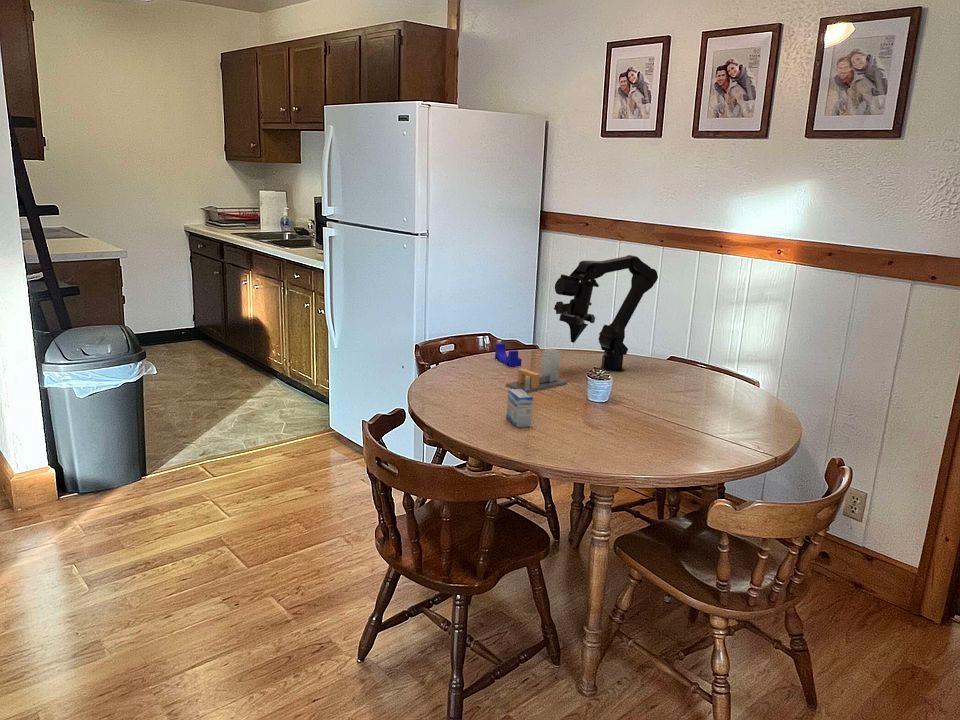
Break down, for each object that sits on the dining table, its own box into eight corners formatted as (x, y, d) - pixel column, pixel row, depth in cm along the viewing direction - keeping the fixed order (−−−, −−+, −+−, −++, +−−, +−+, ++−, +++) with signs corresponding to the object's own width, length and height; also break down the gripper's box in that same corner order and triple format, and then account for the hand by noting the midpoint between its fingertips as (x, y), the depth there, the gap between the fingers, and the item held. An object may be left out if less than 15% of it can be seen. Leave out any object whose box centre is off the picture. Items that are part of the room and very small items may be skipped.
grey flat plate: (547, 377, 254) (547, 375, 254) (566, 384, 248) (567, 381, 248) (505, 386, 242) (505, 383, 242) (525, 393, 236) (525, 391, 236)
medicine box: (505, 418, 212) (507, 389, 210) (520, 417, 214) (522, 388, 211) (516, 427, 205) (518, 397, 203) (531, 426, 207) (533, 396, 204)
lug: (521, 381, 246) (522, 368, 245) (538, 387, 240) (539, 374, 239) (517, 382, 245) (518, 369, 244) (534, 388, 239) (535, 375, 238)
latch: (549, 377, 251) (551, 348, 249) (558, 380, 248) (560, 351, 246) (528, 381, 245) (530, 352, 242) (536, 384, 242) (538, 354, 240)
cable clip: (521, 367, 267) (522, 350, 265) (509, 368, 265) (510, 351, 263) (505, 358, 277) (506, 343, 275) (494, 359, 275) (495, 343, 274)
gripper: (570, 293, 267) (561, 335, 270) (550, 292, 251) (540, 338, 253) (599, 299, 262) (590, 343, 265) (580, 300, 246) (570, 346, 248)
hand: (572, 342), depth 258 cm, fingers closed
